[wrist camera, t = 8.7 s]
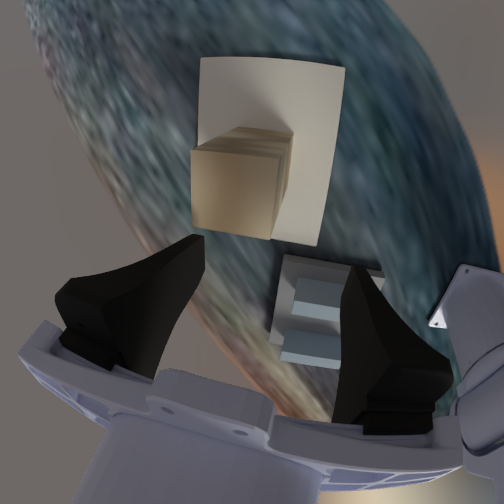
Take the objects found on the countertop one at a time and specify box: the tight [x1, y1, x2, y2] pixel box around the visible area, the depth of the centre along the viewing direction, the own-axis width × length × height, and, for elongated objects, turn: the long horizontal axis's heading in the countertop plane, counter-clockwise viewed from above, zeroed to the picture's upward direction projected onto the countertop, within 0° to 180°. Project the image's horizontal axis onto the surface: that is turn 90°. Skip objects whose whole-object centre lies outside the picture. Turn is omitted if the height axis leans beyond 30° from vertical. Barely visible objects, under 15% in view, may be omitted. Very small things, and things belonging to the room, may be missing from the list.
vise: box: [269, 254, 385, 369], centre depth 24 cm, size 9×11×4 cm
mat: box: [198, 57, 345, 246], centre depth 19 cm, size 10×14×1 cm
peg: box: [191, 127, 294, 240], centre depth 16 cm, size 4×4×8 cm
